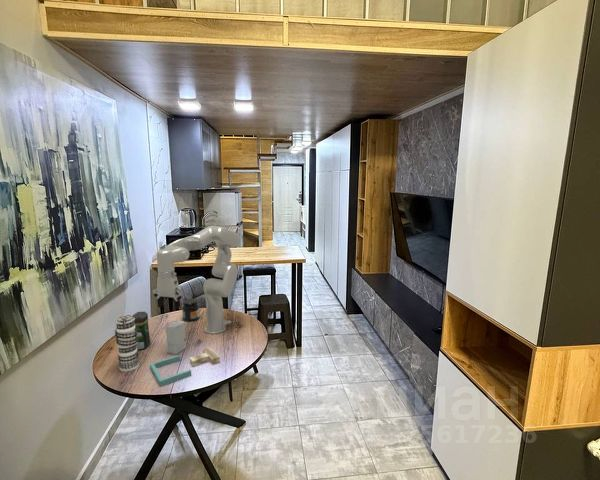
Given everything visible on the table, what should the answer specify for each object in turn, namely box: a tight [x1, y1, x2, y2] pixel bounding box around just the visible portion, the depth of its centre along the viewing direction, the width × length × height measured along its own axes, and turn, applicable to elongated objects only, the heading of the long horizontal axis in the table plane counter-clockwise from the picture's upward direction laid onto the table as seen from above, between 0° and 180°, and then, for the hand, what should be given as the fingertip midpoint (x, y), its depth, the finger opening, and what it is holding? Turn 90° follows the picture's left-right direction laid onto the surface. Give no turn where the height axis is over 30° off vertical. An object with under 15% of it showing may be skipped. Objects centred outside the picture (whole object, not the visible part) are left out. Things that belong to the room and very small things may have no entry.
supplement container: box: [181, 298, 201, 322], centre depth 208 cm, size 10×10×12 cm
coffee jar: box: [131, 311, 151, 351], centre depth 172 cm, size 10×8×19 cm
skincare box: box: [165, 320, 187, 355], centre depth 168 cm, size 8×6×15 cm
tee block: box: [189, 346, 221, 368], centre depth 158 cm, size 12×12×3 cm
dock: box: [149, 354, 192, 387], centre depth 149 cm, size 14×17×2 cm
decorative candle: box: [114, 314, 140, 372], centre depth 152 cm, size 9×9×25 cm
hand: (169, 307), depth 162 cm, fingers open, 9 cm apart
